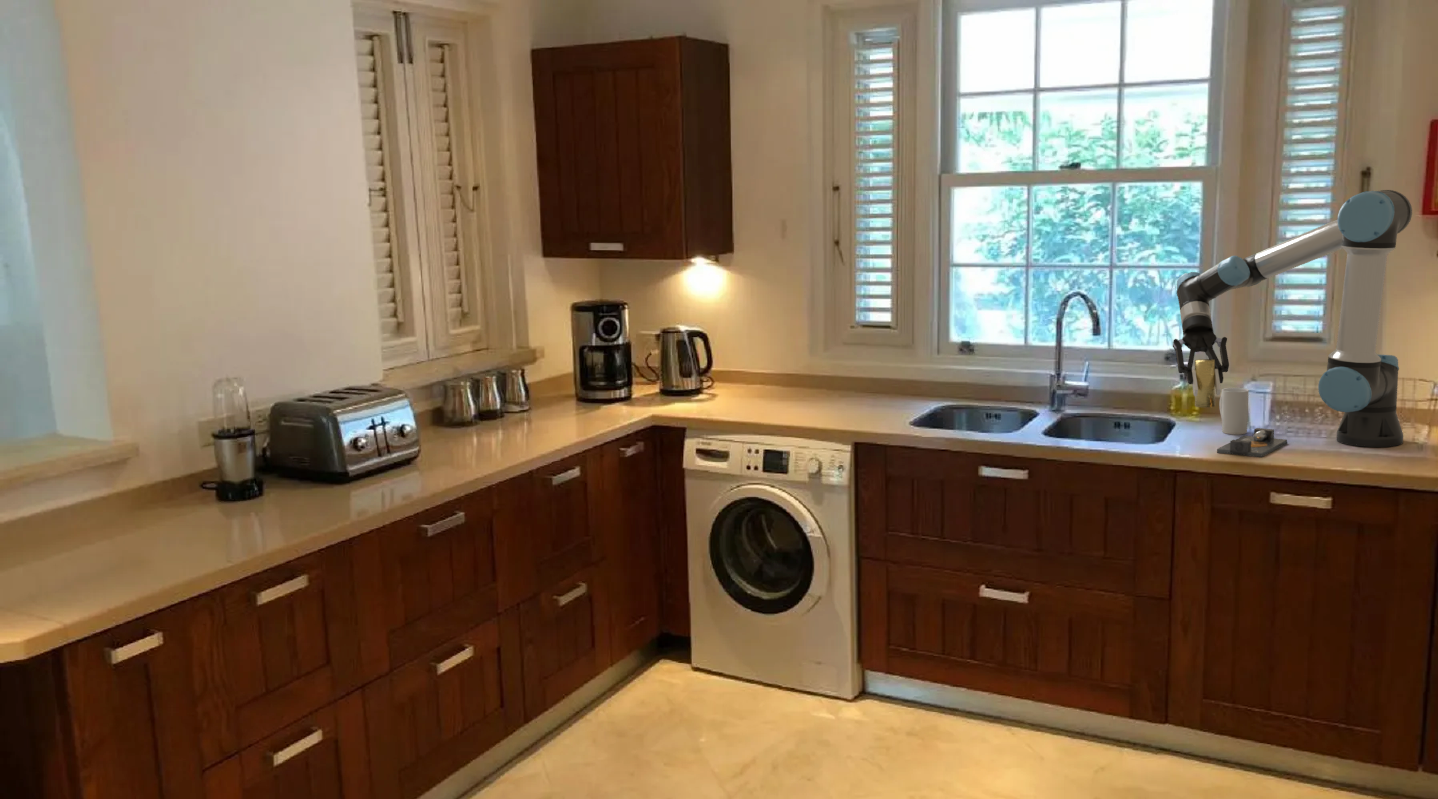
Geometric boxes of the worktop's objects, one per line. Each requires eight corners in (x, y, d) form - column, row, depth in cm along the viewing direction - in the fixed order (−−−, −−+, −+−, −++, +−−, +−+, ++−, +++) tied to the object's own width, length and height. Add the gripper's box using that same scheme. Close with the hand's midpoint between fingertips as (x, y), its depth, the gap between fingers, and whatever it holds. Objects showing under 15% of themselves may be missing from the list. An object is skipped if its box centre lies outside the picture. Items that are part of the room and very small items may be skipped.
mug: (1253, 433, 318) (1254, 390, 316) (1231, 435, 316) (1231, 392, 314) (1230, 427, 327) (1231, 385, 325) (1209, 429, 326) (1209, 387, 324)
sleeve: (1217, 404, 302) (1217, 359, 300) (1210, 407, 298) (1210, 361, 296) (1199, 403, 305) (1199, 358, 303) (1192, 406, 302) (1191, 361, 300)
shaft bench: (1243, 439, 311) (1244, 426, 311) (1287, 443, 304) (1287, 430, 303) (1216, 452, 298) (1217, 439, 297) (1261, 457, 290) (1261, 444, 290)
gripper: (1230, 329, 311) (1242, 400, 298) (1160, 332, 316) (1169, 402, 303) (1234, 311, 306) (1246, 382, 292) (1162, 315, 310) (1171, 385, 297)
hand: (1207, 392), depth 297 cm, fingers closed on sleeve, 5 cm apart
